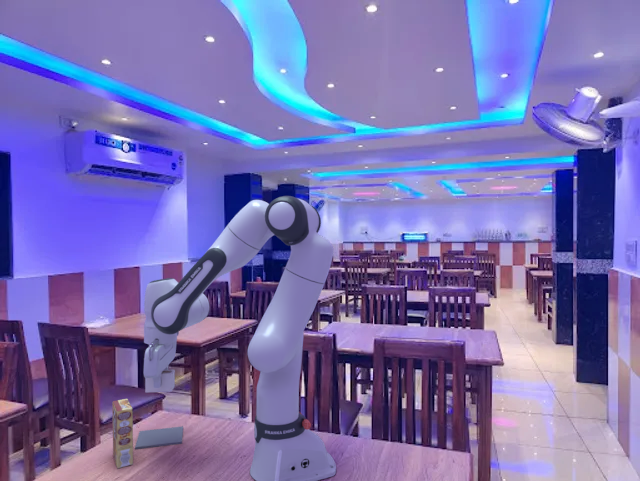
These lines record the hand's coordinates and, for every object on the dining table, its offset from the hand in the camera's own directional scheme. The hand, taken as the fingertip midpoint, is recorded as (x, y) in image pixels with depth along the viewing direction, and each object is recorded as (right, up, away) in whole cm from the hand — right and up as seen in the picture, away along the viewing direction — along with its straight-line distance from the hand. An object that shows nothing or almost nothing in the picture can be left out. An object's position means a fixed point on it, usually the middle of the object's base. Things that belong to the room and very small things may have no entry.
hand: (160, 383), depth 122 cm
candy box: (-9, -20, -4) cm, 22 cm away
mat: (-3, -20, +9) cm, 22 cm away
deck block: (0, -2, 0) cm, 2 cm away
